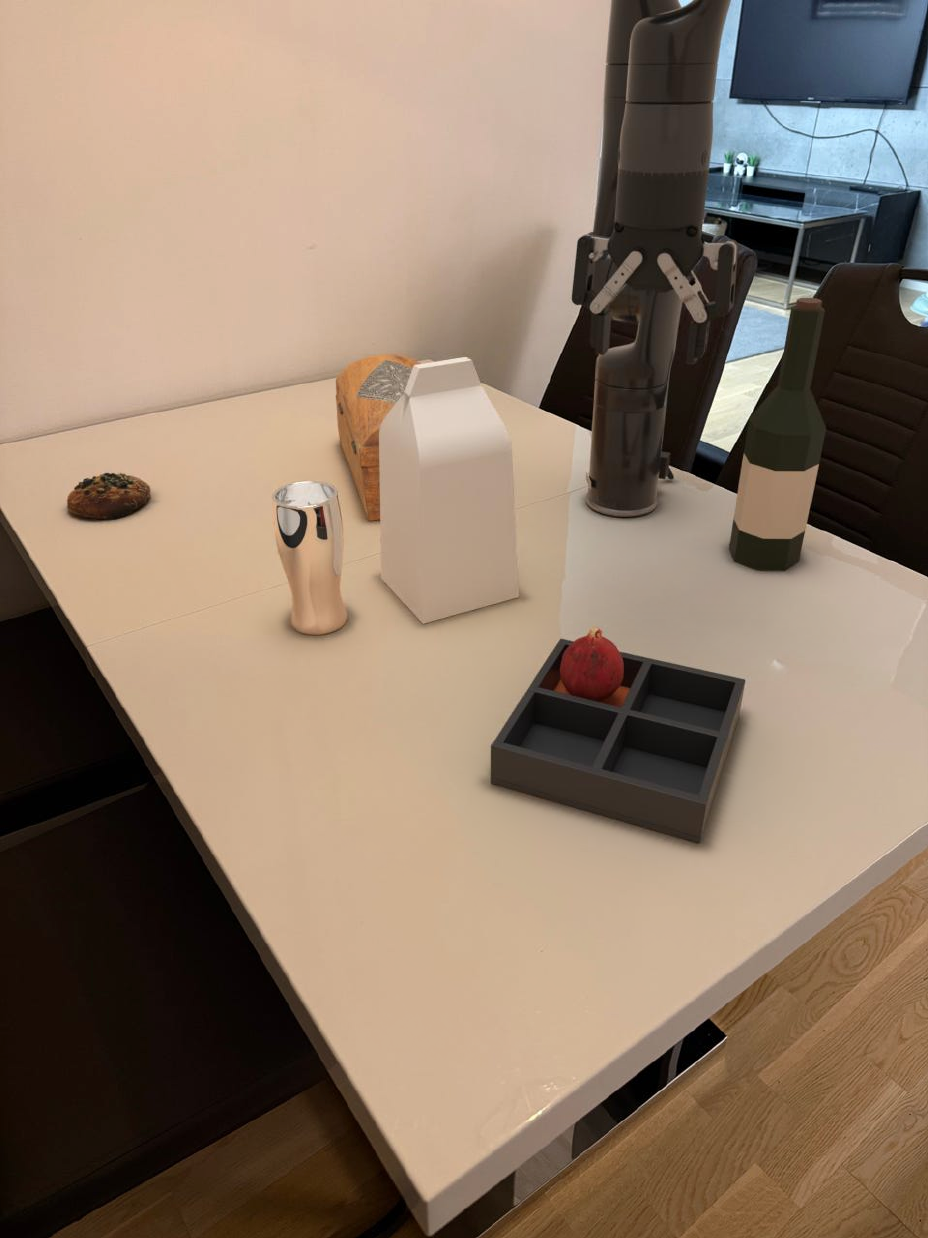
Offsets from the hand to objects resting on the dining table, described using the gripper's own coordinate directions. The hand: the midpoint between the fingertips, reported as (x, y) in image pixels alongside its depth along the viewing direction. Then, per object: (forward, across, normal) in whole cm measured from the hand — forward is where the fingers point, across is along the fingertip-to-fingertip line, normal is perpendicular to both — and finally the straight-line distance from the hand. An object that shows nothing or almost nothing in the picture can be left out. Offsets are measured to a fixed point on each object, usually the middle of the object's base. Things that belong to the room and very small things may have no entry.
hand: (645, 357), depth 85 cm
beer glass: (+28, +30, +14) cm, 44 cm away
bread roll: (+28, +73, -1) cm, 78 cm away
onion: (+28, -2, +18) cm, 33 cm away
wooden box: (+28, +40, -26) cm, 55 cm away
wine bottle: (+28, -12, -20) cm, 37 cm away
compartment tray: (+28, -6, +22) cm, 36 cm away
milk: (+28, +20, +2) cm, 35 cm away
